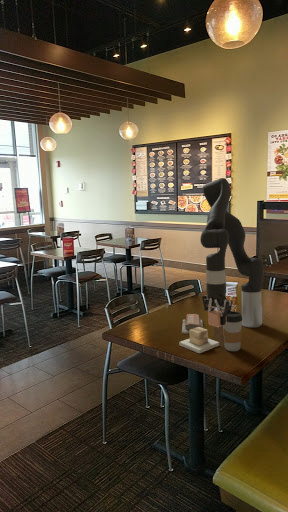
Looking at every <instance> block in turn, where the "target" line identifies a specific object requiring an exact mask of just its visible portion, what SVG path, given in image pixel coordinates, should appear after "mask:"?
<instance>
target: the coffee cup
mask: <svg viewBox="0 0 288 512" xmlns="http://www.w3.org/2000/svg"><path fill="white" fill-rule="evenodd" d="M226 320H227V324H226V325H224V326H222V334H223V335H222V336H223V342H224V348H225V350H226V351H229V352H238V351H240V349H241V346H242V345H241V343H242V331H243V329H242V328H243V325H242V320H243V319H242V312H238V311H234V310H233V311H232V310H231V313H230V314H229V315H227V316H226Z"/></svg>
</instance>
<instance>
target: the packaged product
mask: <svg viewBox="0 0 288 512" xmlns="http://www.w3.org/2000/svg"><path fill="white" fill-rule="evenodd" d="M181 327H182V328H181V334H185V335H187V334H189V335H190V333H189V330H190V329H193V328H196V327H201V328H204V327H203V319H201V318H200V315H199V314H197V313H187V314H186V315H185V318H183V319H182V326H181Z"/></svg>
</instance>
